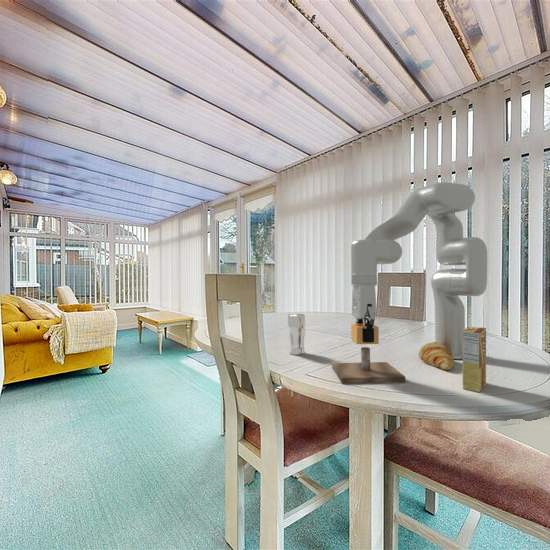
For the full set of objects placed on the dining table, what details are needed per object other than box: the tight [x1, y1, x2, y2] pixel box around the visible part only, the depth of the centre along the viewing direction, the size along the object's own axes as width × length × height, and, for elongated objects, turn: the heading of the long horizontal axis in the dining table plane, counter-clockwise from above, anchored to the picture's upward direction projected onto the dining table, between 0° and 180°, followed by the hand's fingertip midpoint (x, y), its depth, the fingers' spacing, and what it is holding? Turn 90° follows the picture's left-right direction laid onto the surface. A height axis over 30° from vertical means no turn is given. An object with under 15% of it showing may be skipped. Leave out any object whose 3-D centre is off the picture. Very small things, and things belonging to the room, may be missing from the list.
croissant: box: [418, 341, 455, 371], centre depth 102 cm, size 21×10×8 cm, turn 172°
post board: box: [331, 346, 406, 384], centre depth 91 cm, size 18×14×8 cm
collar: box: [350, 323, 380, 345], centre depth 91 cm, size 6×6×5 cm
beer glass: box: [287, 313, 306, 356], centre depth 117 cm, size 7×7×15 cm
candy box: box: [462, 326, 487, 393], centre depth 81 cm, size 9×4×15 cm, turn 137°
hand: (364, 339), depth 91 cm, fingers closed on collar, 6 cm apart
